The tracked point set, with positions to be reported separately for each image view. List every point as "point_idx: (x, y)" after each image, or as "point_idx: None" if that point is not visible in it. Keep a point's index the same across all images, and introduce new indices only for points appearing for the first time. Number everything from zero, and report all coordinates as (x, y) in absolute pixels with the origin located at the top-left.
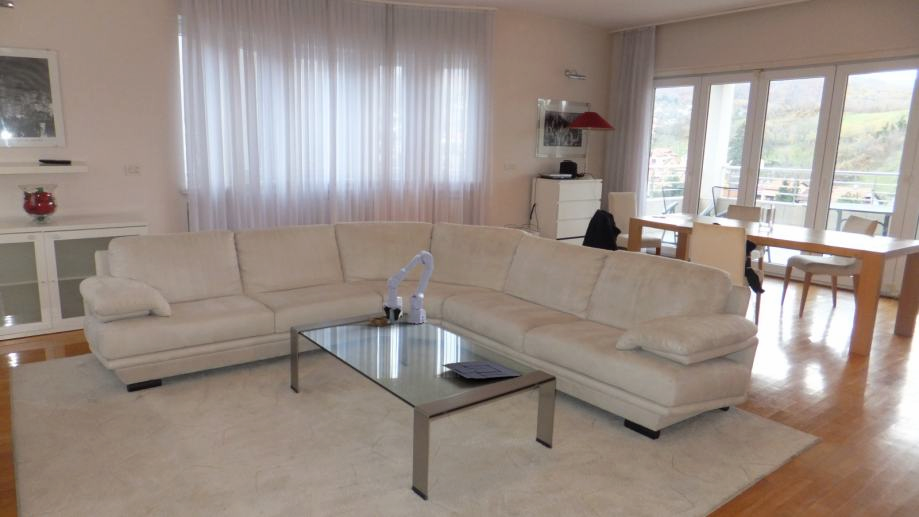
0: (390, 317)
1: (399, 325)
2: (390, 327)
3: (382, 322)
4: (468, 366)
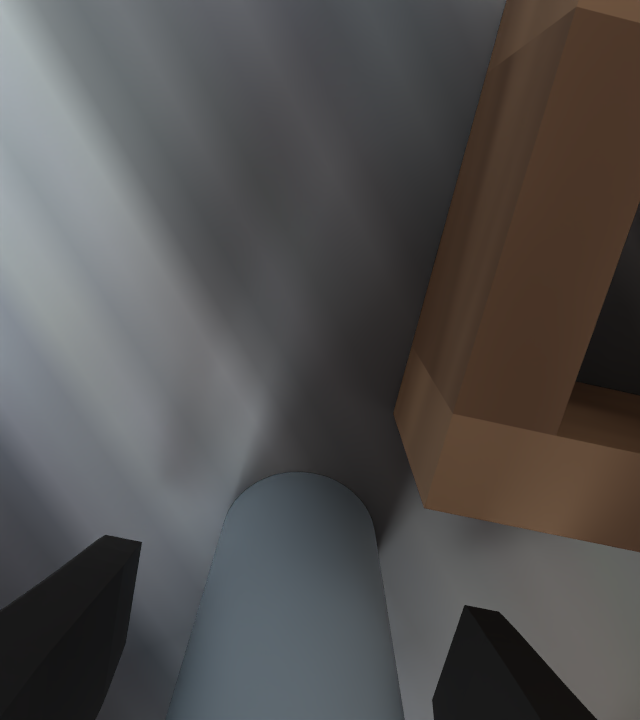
0: (328, 616)
1: (12, 462)
2: (104, 110)
3: (487, 177)
4: None
